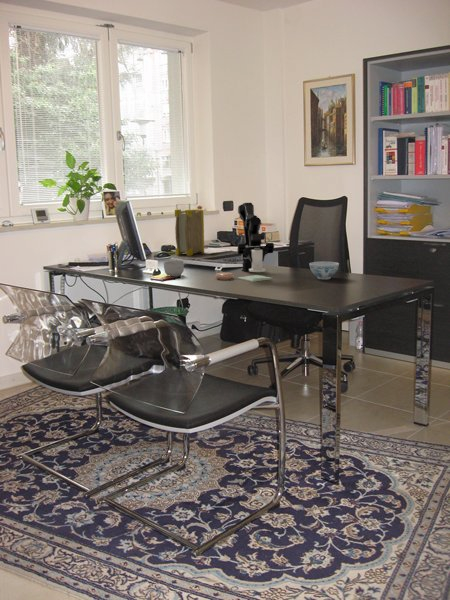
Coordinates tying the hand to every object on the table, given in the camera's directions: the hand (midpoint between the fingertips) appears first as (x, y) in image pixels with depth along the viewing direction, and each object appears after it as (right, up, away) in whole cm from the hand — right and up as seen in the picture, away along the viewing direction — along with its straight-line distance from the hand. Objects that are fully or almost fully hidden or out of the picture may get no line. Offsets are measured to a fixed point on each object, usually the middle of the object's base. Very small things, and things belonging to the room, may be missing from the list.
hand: (257, 261), depth 354 cm
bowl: (-17, -9, +7) cm, 20 cm away
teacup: (-44, -7, +21) cm, 49 cm away
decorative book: (-40, +11, +109) cm, 116 cm away
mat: (-1, -9, +4) cm, 10 cm away
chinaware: (+34, -9, +1) cm, 35 cm away
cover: (0, -5, +2) cm, 5 cm away
